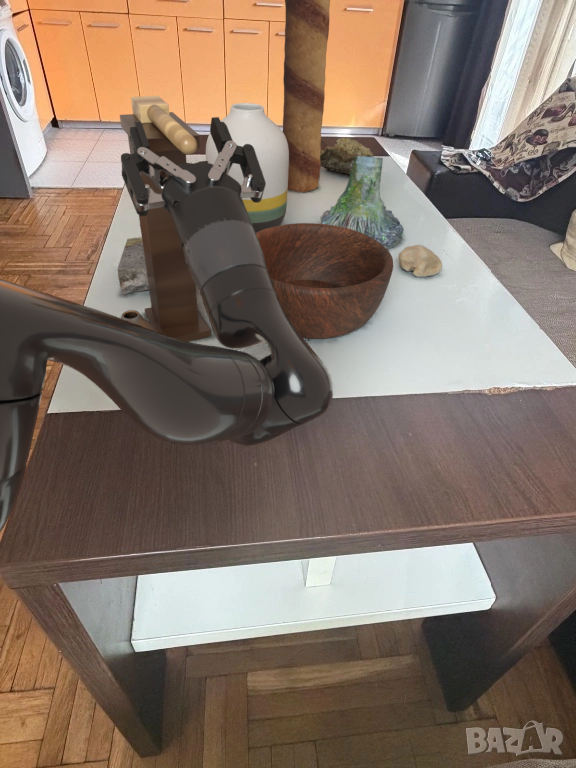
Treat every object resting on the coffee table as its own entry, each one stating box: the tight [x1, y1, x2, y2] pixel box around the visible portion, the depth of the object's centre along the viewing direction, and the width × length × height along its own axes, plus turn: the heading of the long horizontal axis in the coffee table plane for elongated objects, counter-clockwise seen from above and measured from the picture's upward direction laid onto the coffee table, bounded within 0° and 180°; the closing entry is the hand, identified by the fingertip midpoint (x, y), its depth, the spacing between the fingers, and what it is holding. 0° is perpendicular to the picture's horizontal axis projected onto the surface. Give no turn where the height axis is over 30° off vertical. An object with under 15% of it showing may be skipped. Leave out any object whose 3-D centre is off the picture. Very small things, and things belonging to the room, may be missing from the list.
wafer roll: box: [282, 0, 331, 193], centre depth 124 cm, size 10×11×45 cm
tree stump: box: [319, 156, 404, 250], centre depth 114 cm, size 18×20×18 cm
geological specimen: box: [116, 236, 149, 296], centre depth 95 cm, size 11×6×15 cm
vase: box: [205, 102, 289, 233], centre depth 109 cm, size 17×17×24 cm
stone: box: [398, 244, 443, 278], centre depth 102 cm, size 7×6×8 cm
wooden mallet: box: [130, 95, 198, 156], centre depth 61 cm, size 20×4×2 cm, turn 25°
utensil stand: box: [119, 111, 212, 342], centre depth 74 cm, size 12×8×30 cm, turn 25°
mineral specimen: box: [320, 137, 375, 176], centre depth 145 cm, size 14×13×10 cm
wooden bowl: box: [256, 222, 394, 340], centre depth 87 cm, size 25×25×10 cm
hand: (176, 125), depth 57 cm, fingers open, 8 cm apart
